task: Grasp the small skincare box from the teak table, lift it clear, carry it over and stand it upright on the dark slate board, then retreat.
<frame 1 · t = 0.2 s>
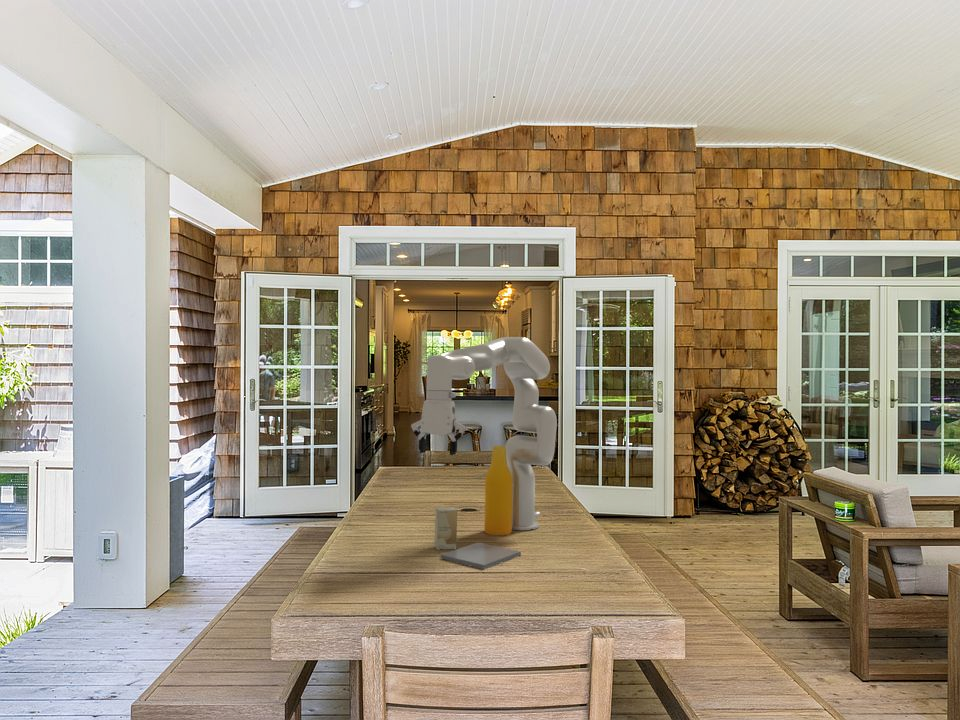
hand: (437, 453, 211), 30 cm above the table, tool pointing down, fingers open, 9 cm apart
skincare box: (445, 548, 217), on the table
slate board: (481, 557, 207), on the table
beer bottle: (498, 533, 237), on the table
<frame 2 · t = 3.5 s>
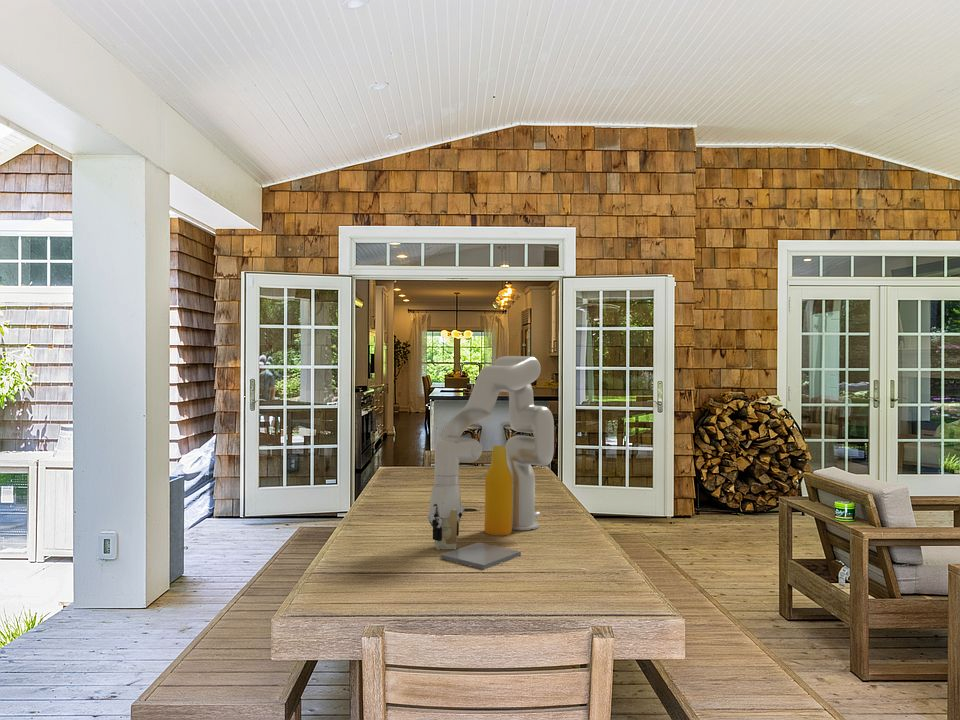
hand: (445, 537, 217), 3 cm above the table, tool pointing down, fingers closed on skincare box, 7 cm apart
skincare box: (445, 548, 217), on the table, touching gripper
everything else where it was.
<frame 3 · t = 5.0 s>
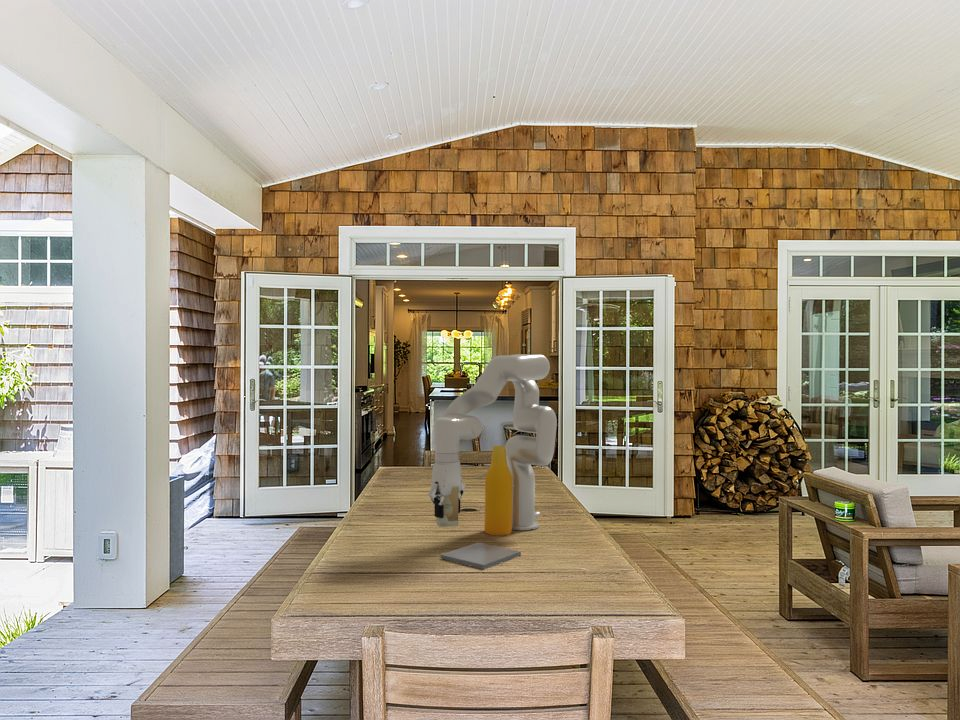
hand: (447, 514, 217), 10 cm above the table, tool pointing down, fingers closed on skincare box, 7 cm apart
skincare box: (447, 525, 217), point 7 cm above the table, touching gripper
everything else where it was.
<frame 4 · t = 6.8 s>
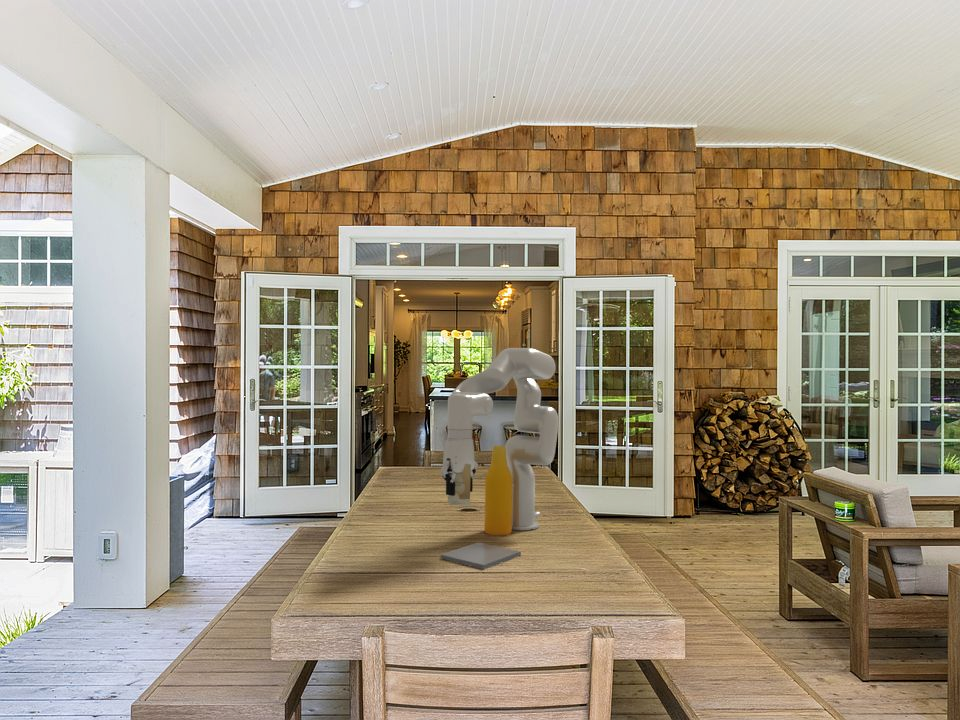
hand: (459, 492, 213), 18 cm above the table, tool pointing down, fingers closed on skincare box, 7 cm apart
skincare box: (459, 504, 213), point 14 cm above the table, touching gripper
everything else where it was.
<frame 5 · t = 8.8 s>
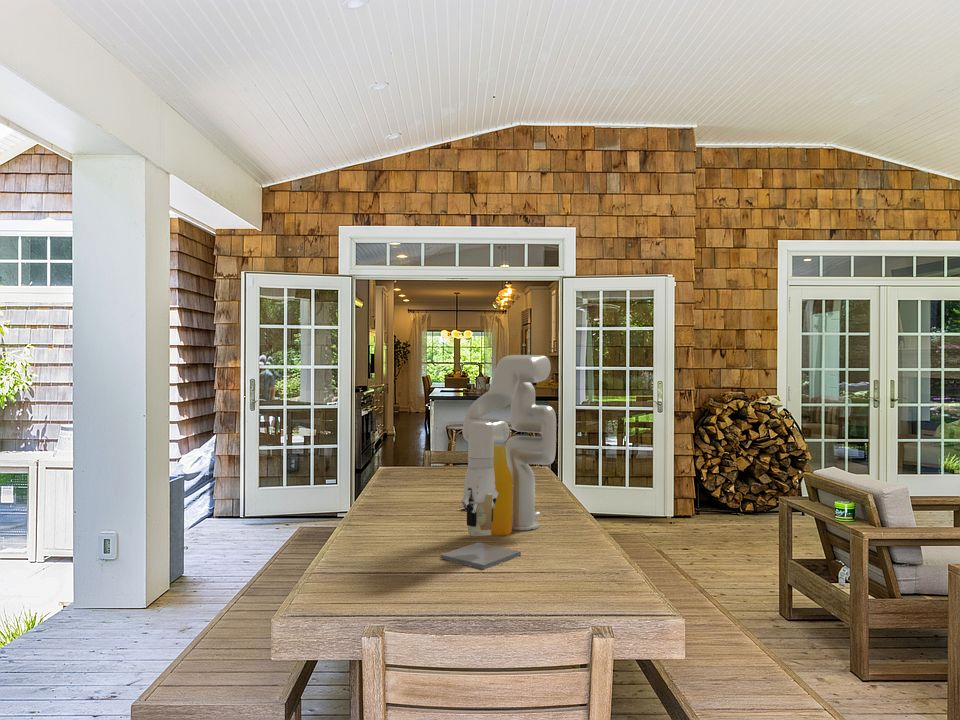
hand: (479, 523, 207), 10 cm above the table, tool pointing down, fingers closed on skincare box, 7 cm apart
skincare box: (479, 534, 207), point 6 cm above the table, touching gripper
everything else where it was.
when the fingers open (5 cm above the table, at t = 10.6 s): skincare box stays where it is, resting on slate board.
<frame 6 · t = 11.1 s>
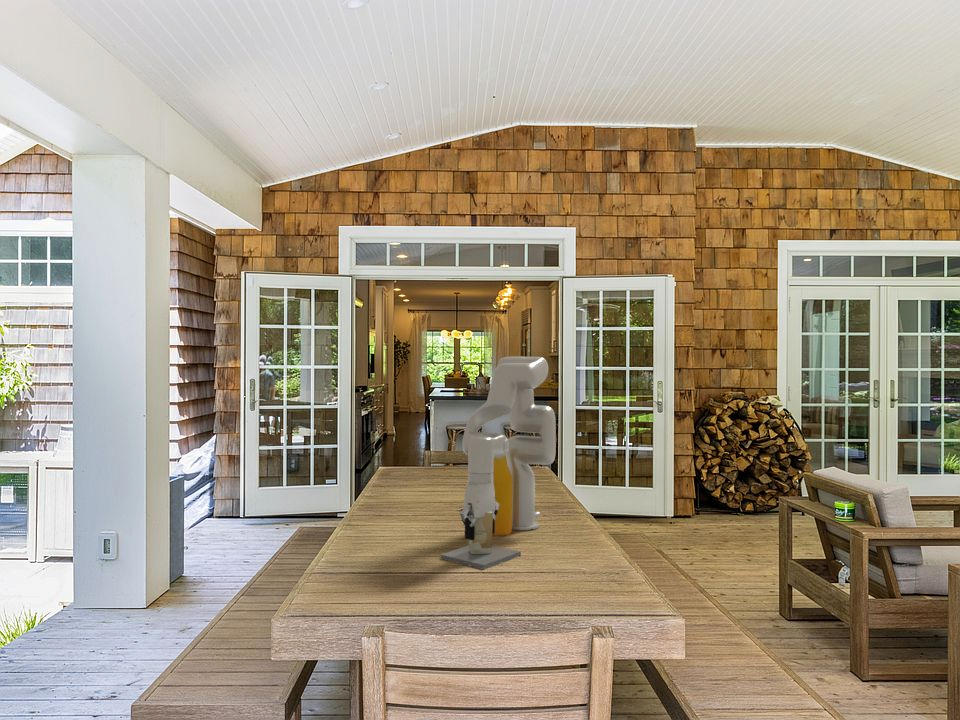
hand: (479, 536, 207), 6 cm above the table, tool pointing down, fingers open, 9 cm apart
skincare box: (480, 553, 208), point 1 cm above the table, touching slate board
everything else where it was.
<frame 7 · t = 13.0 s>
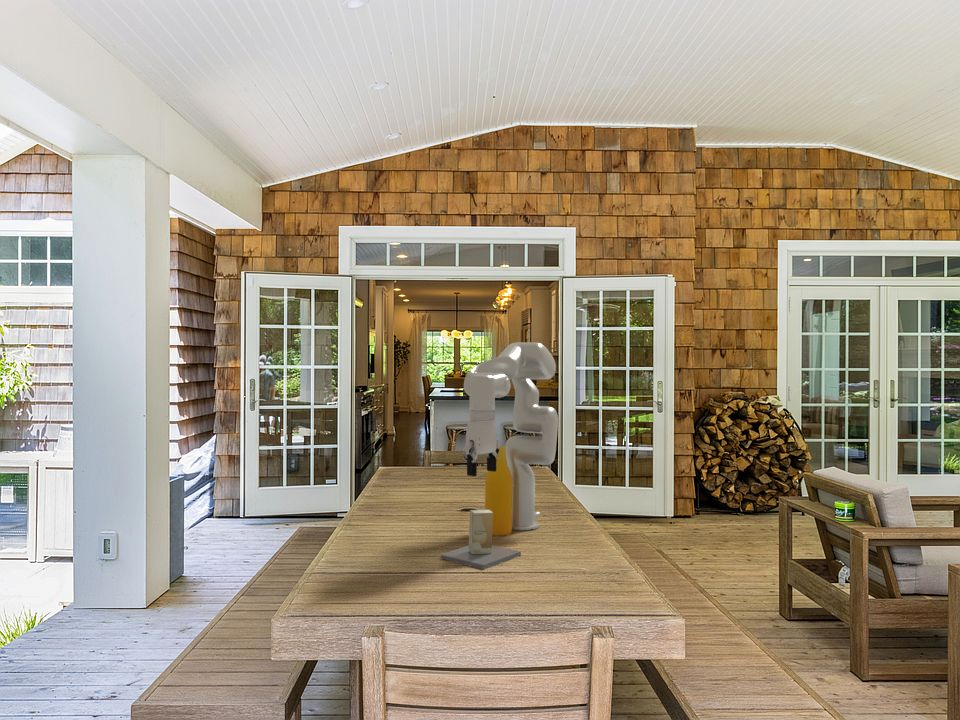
hand: (481, 473, 209), 24 cm above the table, tool pointing down, fingers open, 9 cm apart
nothing on the table moved.
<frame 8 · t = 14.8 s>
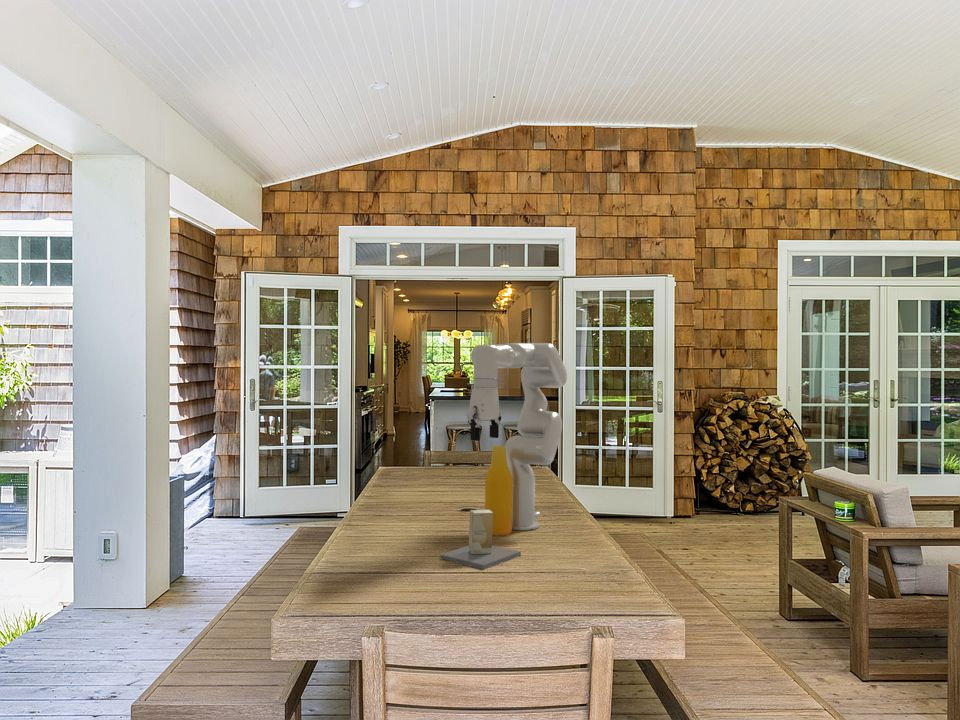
hand: (484, 438, 220), 33 cm above the table, tool pointing down, fingers open, 9 cm apart
nothing on the table moved.
at the end: skincare box inside the target area on the slate board (0.8 cm from its centre), point 1.0 cm above the slate board's base; skincare box tilted 0°; the gripper is holding nothing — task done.
